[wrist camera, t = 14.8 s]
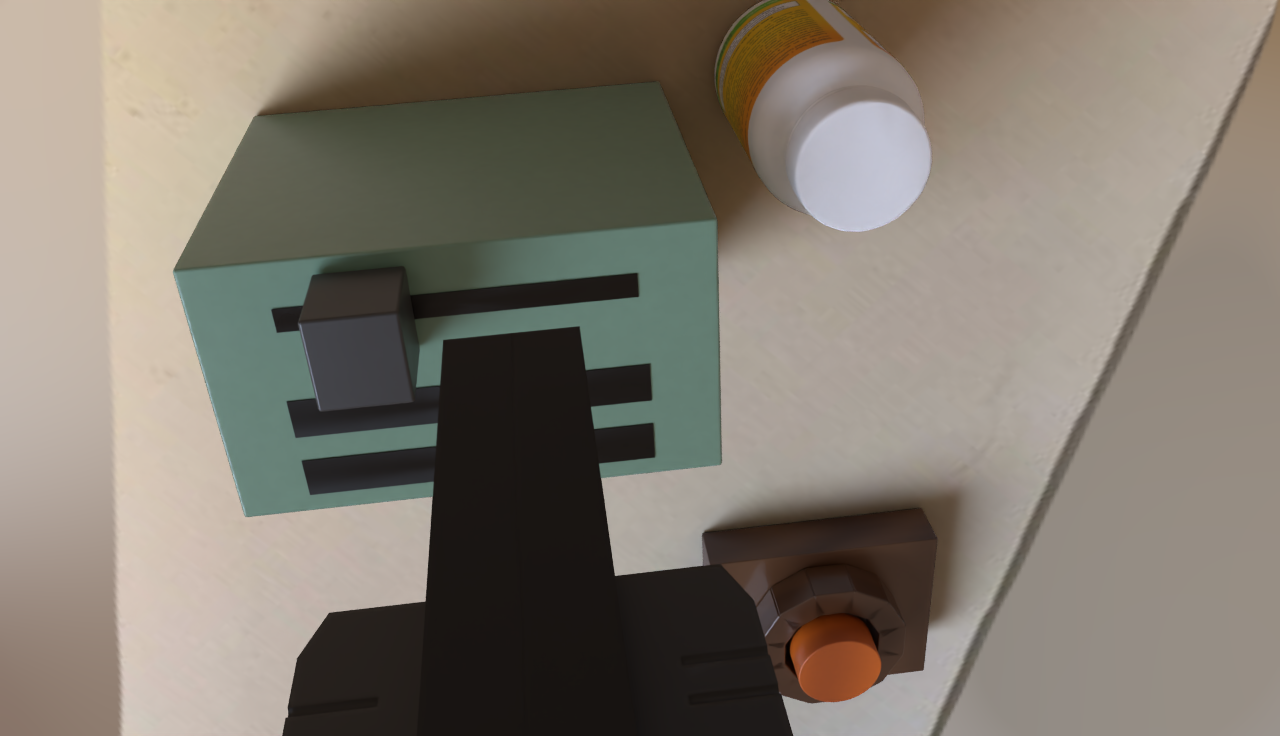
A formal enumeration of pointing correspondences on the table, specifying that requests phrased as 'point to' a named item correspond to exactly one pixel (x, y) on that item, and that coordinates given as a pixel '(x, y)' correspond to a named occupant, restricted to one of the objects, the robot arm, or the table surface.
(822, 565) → the button block
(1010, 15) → the table surface
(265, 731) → the table surface
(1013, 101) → the table surface
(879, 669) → the button
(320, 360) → the slider
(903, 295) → the table surface
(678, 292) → the toaster
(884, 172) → the supplement bottle
